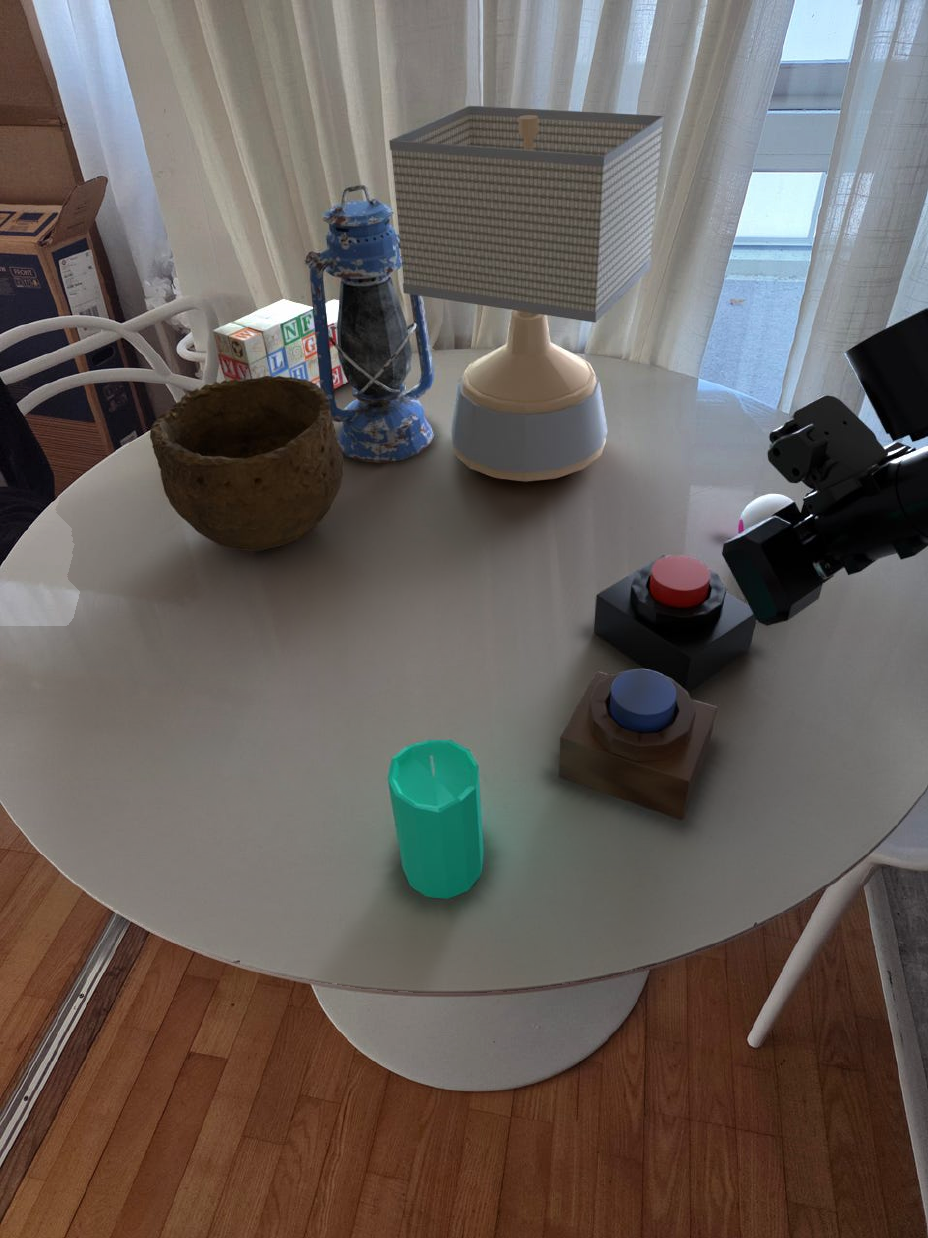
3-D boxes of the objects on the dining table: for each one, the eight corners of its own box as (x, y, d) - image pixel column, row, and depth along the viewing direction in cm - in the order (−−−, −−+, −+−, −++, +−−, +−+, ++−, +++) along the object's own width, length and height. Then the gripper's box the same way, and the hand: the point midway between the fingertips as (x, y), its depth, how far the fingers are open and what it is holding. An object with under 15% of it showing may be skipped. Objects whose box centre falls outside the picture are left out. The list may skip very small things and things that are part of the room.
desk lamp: (638, 435, 108) (670, 101, 84) (580, 513, 96) (598, 148, 72) (485, 404, 116) (474, 92, 92) (414, 472, 104) (379, 132, 80)
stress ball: (747, 549, 95) (720, 499, 93) (819, 526, 90) (792, 473, 88) (733, 587, 89) (704, 535, 87) (809, 565, 84) (780, 510, 82)
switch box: (750, 650, 78) (762, 595, 74) (683, 697, 74) (693, 641, 70) (658, 592, 85) (665, 539, 81) (593, 632, 81) (597, 578, 77)
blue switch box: (709, 746, 70) (721, 690, 66) (681, 820, 65) (692, 765, 60) (593, 709, 74) (597, 654, 69) (558, 776, 68) (560, 721, 64)
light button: (719, 592, 75) (722, 573, 74) (680, 616, 73) (683, 598, 72) (675, 566, 78) (678, 547, 77) (637, 588, 76) (639, 570, 75)
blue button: (681, 698, 66) (684, 679, 64) (662, 742, 63) (665, 723, 61) (621, 680, 68) (623, 661, 66) (600, 721, 64) (602, 702, 63)
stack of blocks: (343, 359, 129) (331, 277, 121) (373, 369, 126) (363, 285, 118) (232, 416, 117) (211, 328, 109) (262, 428, 114) (242, 339, 106)
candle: (388, 883, 62) (368, 779, 54) (422, 818, 66) (408, 712, 58) (465, 910, 60) (456, 805, 52) (495, 841, 64) (491, 735, 56)
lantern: (353, 476, 104) (313, 214, 84) (311, 436, 112) (265, 188, 92) (461, 438, 110) (446, 184, 90) (413, 402, 118) (391, 162, 98)
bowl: (197, 605, 87) (156, 478, 77) (174, 510, 100) (136, 392, 90) (374, 557, 92) (356, 432, 82) (329, 473, 105) (309, 357, 95)
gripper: (949, 335, 57) (778, 427, 71) (773, 430, 49) (619, 513, 63) (1026, 484, 57) (840, 546, 71) (864, 603, 49) (690, 647, 63)
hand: (751, 559), depth 67 cm, fingers closed
